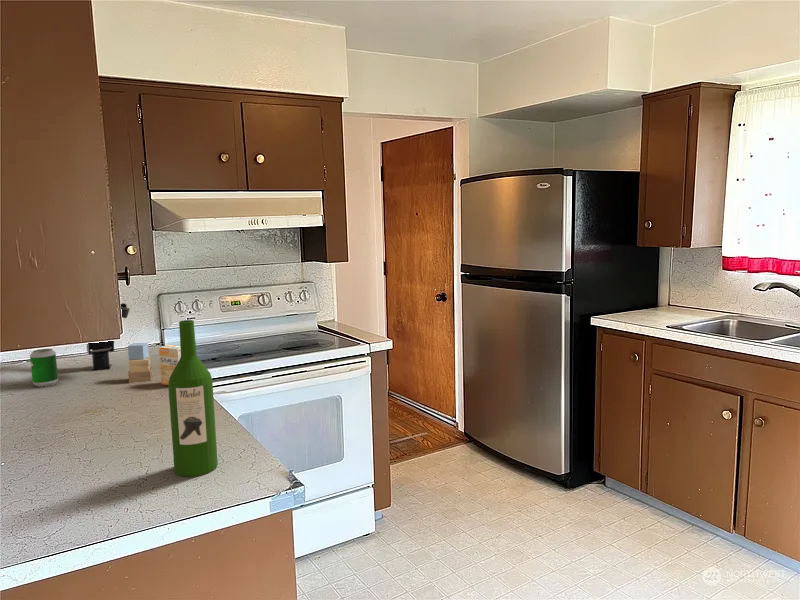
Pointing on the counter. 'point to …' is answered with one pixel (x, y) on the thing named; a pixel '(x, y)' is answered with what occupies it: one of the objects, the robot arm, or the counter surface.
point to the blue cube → (138, 351)
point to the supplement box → (168, 361)
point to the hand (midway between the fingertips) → (105, 341)
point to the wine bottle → (192, 410)
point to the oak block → (139, 365)
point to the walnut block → (140, 376)
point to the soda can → (44, 367)
